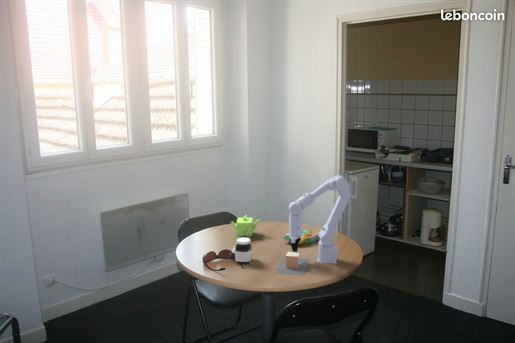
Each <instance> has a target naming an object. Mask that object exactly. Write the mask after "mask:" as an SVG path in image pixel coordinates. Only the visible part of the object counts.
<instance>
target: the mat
mask: <svg viewBox="0 0 515 343" xmlns="http://www.w3.org/2000/svg"><path fill="white" fill-rule="evenodd" d="M309 262H310V259H309V258H300V265H299V268H298V269H294V268H286V256H285V257H284V256H283V257H281V259H280V260H279V263H278V266H277V267H276V271H275V273H274V274H278V275H280V274H282V275H292V276H294V275H295V276H306V273H307V271H308V270H307V269H308V266H309Z"/></svg>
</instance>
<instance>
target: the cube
mask: <svg viewBox="0 0 515 343" xmlns="http://www.w3.org/2000/svg"><path fill="white" fill-rule="evenodd" d="M285 255H286V256H285V258H286V268H294V269H298V268H299V265H300V259H301V252H298V251H297V252H293V251H287V253H286V254H285Z"/></svg>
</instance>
